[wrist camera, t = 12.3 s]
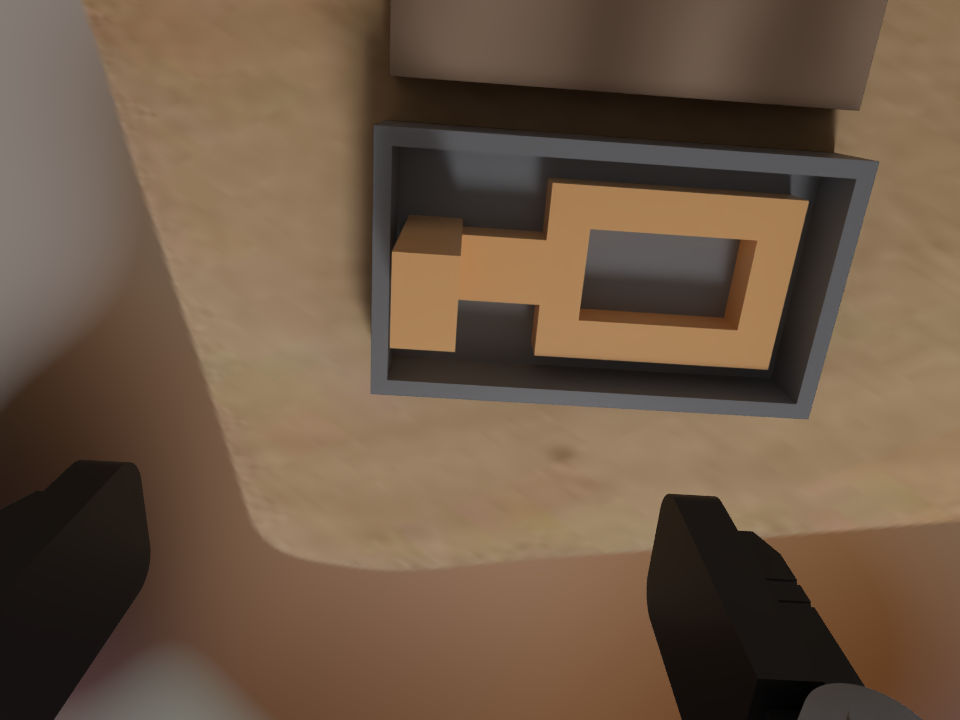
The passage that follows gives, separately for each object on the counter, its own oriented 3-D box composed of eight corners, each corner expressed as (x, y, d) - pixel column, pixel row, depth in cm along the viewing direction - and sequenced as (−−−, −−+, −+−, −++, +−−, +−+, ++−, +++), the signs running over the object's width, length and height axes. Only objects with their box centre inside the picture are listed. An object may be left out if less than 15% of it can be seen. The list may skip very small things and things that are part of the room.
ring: (790, 194, 25) (879, 225, 20) (752, 355, 28) (823, 423, 22) (410, 167, 25) (393, 191, 19) (405, 333, 27) (388, 398, 22)
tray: (835, 152, 26) (879, 161, 23) (776, 387, 29) (808, 419, 26) (384, 120, 25) (373, 125, 22) (380, 363, 28) (370, 393, 26)
